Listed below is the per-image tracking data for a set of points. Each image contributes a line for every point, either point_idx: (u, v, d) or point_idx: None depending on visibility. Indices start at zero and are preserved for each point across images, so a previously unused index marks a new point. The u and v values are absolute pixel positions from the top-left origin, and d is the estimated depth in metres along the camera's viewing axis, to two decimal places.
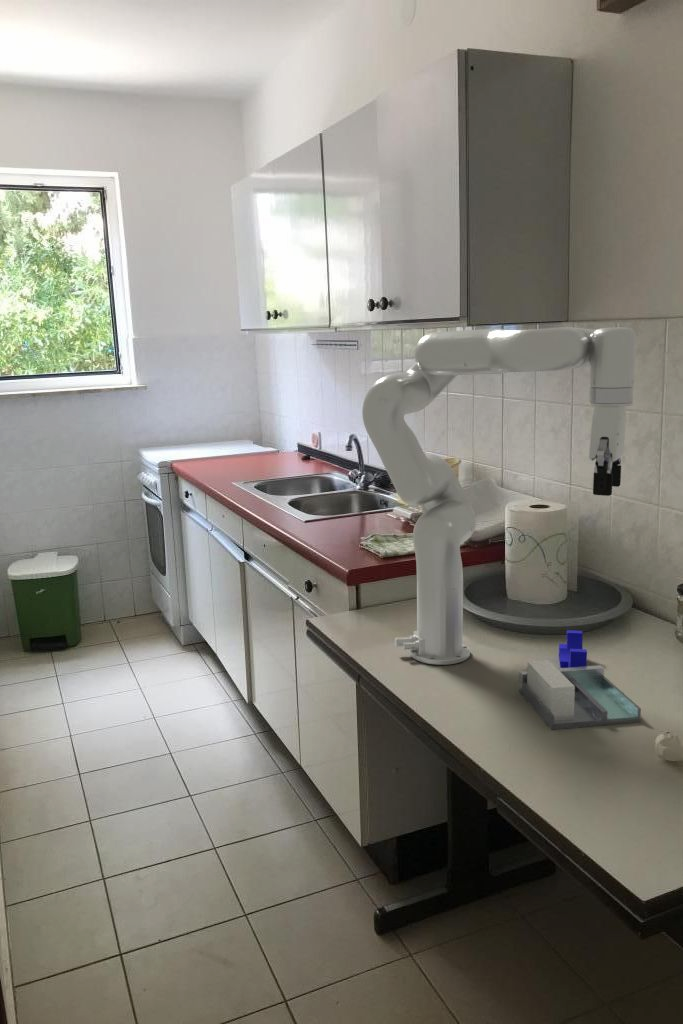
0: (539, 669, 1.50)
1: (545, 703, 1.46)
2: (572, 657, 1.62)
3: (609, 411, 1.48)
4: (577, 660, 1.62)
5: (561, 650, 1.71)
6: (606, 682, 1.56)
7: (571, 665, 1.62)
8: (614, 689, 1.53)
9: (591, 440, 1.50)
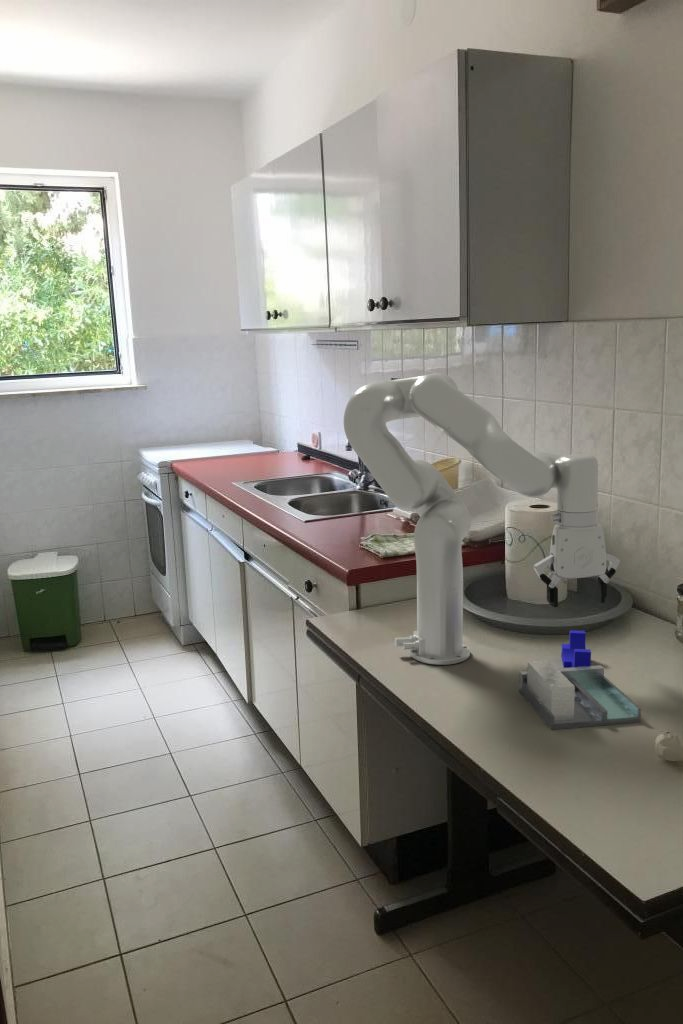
0: (539, 669, 1.50)
1: (545, 703, 1.46)
2: (576, 657, 1.62)
3: None
4: (581, 660, 1.62)
5: (564, 650, 1.71)
6: (606, 682, 1.56)
7: (575, 665, 1.62)
8: (614, 689, 1.53)
9: (605, 556, 1.62)
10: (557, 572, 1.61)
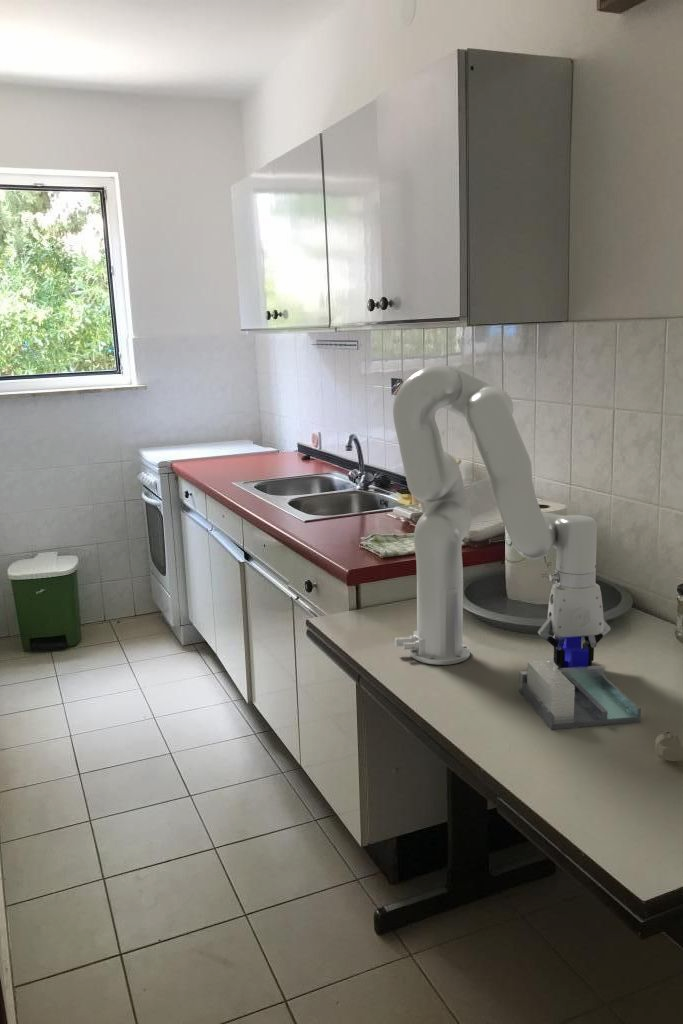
0: (539, 669, 1.50)
1: (545, 703, 1.46)
2: (574, 656, 1.62)
3: None
4: (579, 659, 1.61)
5: None
6: (606, 682, 1.56)
7: (573, 664, 1.62)
8: (614, 689, 1.53)
9: None
10: (555, 631, 1.64)
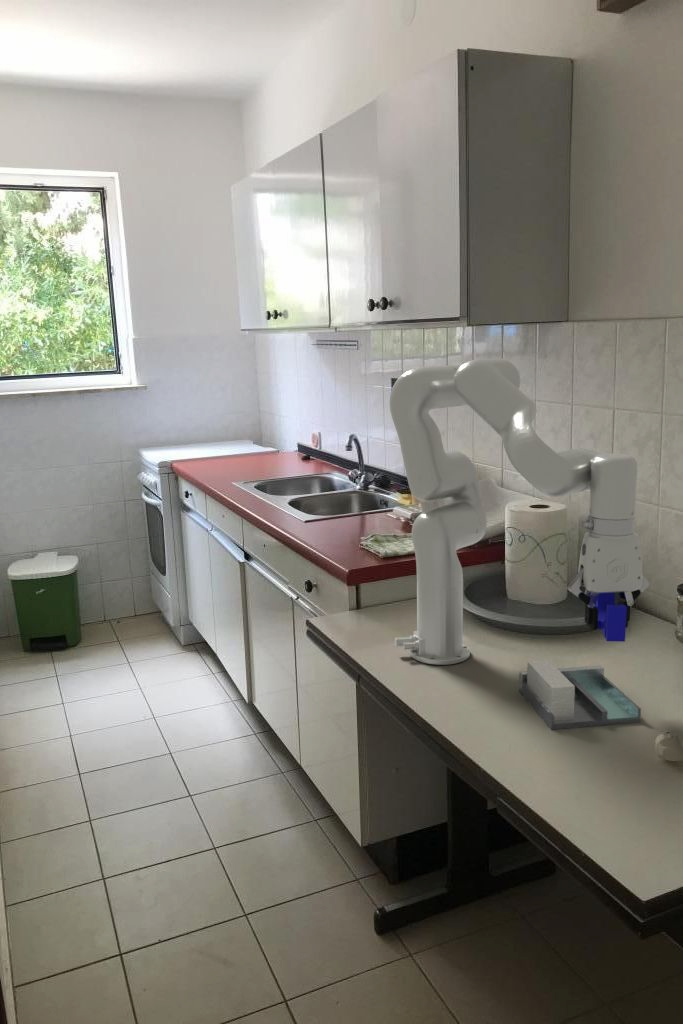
0: (539, 669, 1.50)
1: (545, 703, 1.46)
2: (610, 614, 1.41)
3: None
4: (616, 617, 1.41)
5: None
6: (606, 682, 1.56)
7: (608, 623, 1.42)
8: (614, 689, 1.53)
9: None
10: (587, 586, 1.43)
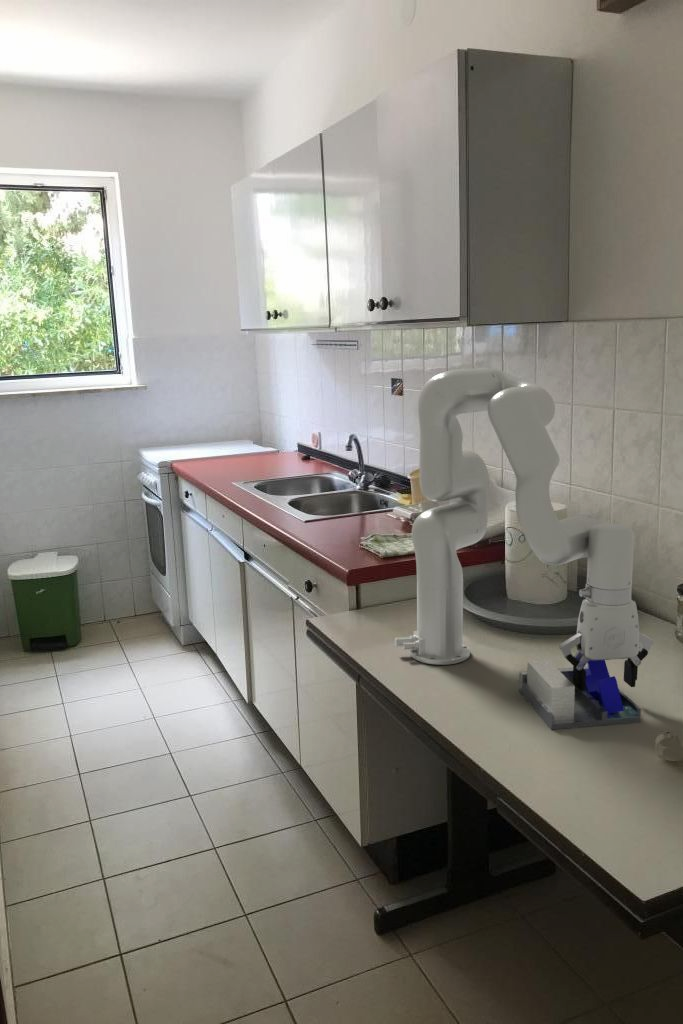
0: (539, 669, 1.50)
1: (545, 703, 1.46)
2: (602, 689, 1.44)
3: None
4: (609, 691, 1.44)
5: (586, 678, 1.53)
6: None
7: (603, 698, 1.44)
8: None
9: (639, 636, 1.47)
10: (585, 653, 1.46)
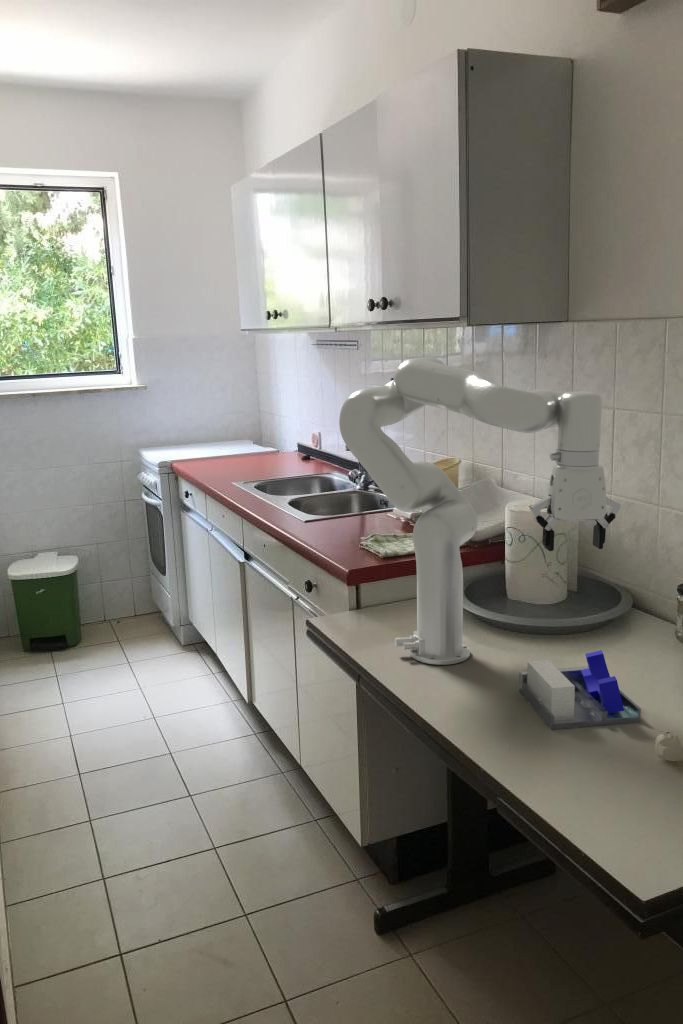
0: (539, 669, 1.50)
1: (545, 703, 1.46)
2: (602, 689, 1.44)
3: None
4: (609, 691, 1.44)
5: (586, 678, 1.53)
6: None
7: (604, 698, 1.44)
8: None
9: (605, 499, 1.55)
10: (554, 514, 1.54)
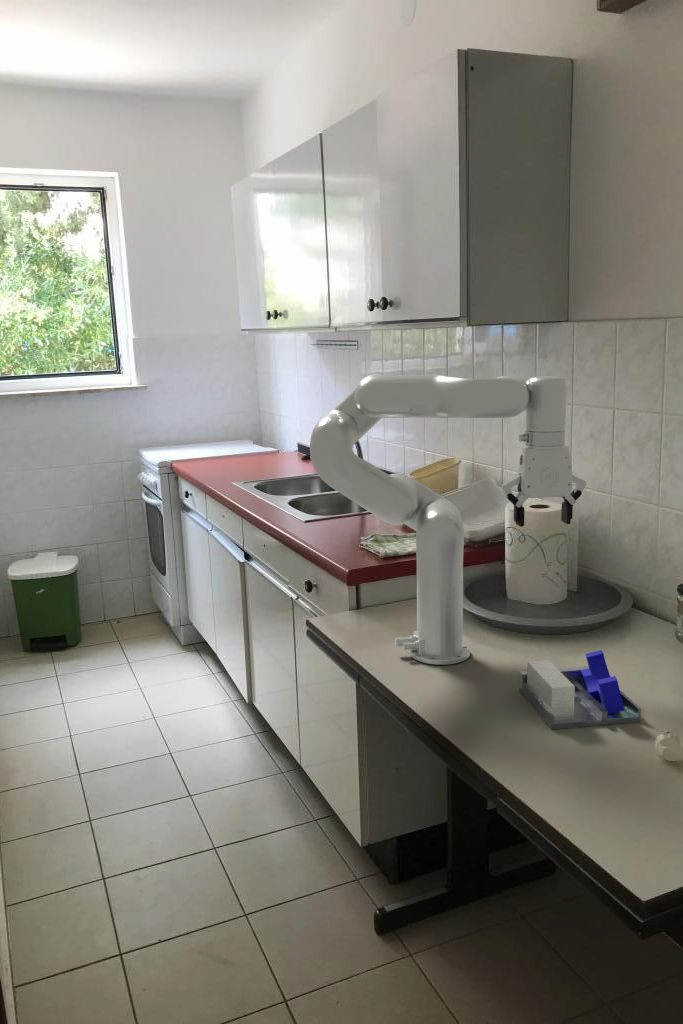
0: (539, 669, 1.50)
1: (545, 703, 1.46)
2: (603, 689, 1.44)
3: None
4: (609, 691, 1.44)
5: (586, 678, 1.53)
6: None
7: (604, 698, 1.44)
8: None
9: (572, 476, 1.65)
10: (524, 491, 1.65)
